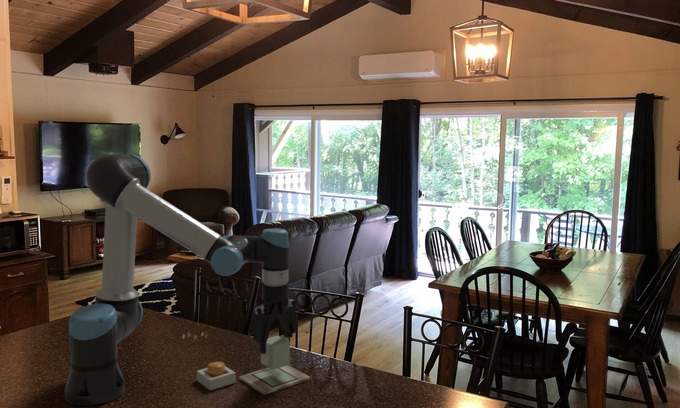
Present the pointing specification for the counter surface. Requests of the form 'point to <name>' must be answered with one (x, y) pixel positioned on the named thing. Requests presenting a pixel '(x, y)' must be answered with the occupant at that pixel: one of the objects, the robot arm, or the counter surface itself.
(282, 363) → the sage block
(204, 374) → the button housing
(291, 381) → the beige flat rectangular board
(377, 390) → the counter surface
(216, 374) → the button
